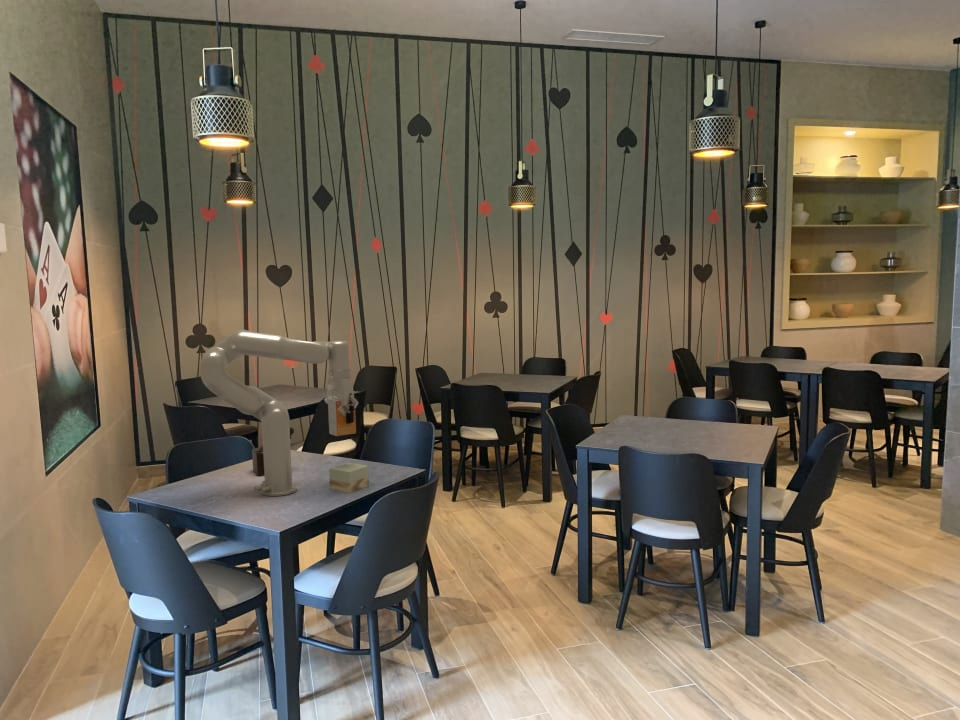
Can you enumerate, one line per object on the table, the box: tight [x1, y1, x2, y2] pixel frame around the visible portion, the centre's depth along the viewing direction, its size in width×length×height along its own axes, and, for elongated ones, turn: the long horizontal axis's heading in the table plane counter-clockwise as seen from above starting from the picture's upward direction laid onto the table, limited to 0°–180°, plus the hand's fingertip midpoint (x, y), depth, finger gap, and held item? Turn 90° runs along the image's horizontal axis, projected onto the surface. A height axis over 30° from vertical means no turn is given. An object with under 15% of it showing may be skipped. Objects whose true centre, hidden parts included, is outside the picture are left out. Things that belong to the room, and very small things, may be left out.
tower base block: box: [329, 476, 370, 494], centre depth 270 cm, size 10×10×4 cm
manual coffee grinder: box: [251, 426, 295, 477], centre depth 296 cm, size 16×11×18 cm
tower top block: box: [328, 462, 370, 483], centre depth 270 cm, size 10×10×4 cm
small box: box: [327, 399, 357, 437], centre depth 271 cm, size 8×6×13 cm
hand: (342, 421), depth 271 cm, fingers closed on small box, 7 cm apart
